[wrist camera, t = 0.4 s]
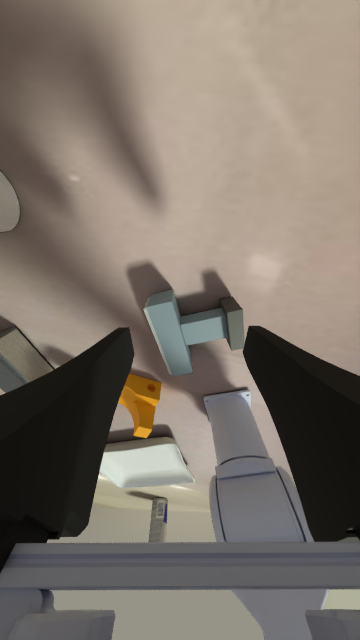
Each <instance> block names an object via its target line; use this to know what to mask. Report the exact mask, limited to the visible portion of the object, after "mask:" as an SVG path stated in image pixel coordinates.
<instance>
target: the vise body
mask: <svg viewBox="0 0 360 640" xmlns="http://www.w3.org/2000/svg"><path fill="white" fill-rule="evenodd" d="M53 370H54V369H53V368H52V367H51V366H50V365H49V363H48V362H47V361H46V360H45V359H44V358H43V357H42V356H41V355H40V353H39V352H38V351H37V350H36V349H35V348H34V347H33V346H32V345H31V343H30V342H29V341H28V340H27V339H26V338H25V337H24V336H23V335H22V333H21V332H20V331H19V330H18V329H17V328H16V327H12V328H8V329H3V330H0V388H1V389H2V390H3V391H4V392H6V393H7V392H10V391H12V390H14V389H16V388H18V387H21V386H23V385H25V384H27V383H29V382H31V381H33V380H35V379H37V378H39V377H41V376H43V375H45V374H47V373H49V372H51V371H53Z"/></svg>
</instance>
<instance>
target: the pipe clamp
mask: <svg viewBox="0 0 360 640" xmlns="http://www.w3.org/2000/svg"><path fill="white" fill-rule="evenodd" d="M160 391H161V383H160V382H156V381H153V380H150V379H146V378H143V377H139V376H136V375H133V374H129V375H128V378H127V380H126V383H125V386H124V388H123V391H122V393H121V396H120V398H119V401H118V403H120V404H122V405H124V406H125V407H126V408H127V409H128V410H129V412H130V413H131V415H132V418H133V421H134V434H133V436H138V437H143V438H147V437H148V435H149V434H150V432H151V431H152V428H153V421H154V413H155V407H156V405H157V403H158V402H159V400H160Z"/></svg>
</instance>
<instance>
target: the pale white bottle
mask: <svg viewBox="0 0 360 640" xmlns="http://www.w3.org/2000/svg"><path fill="white" fill-rule="evenodd" d="M19 216H20V206H19V201H18V199H17V196H16V193H15V191H14V189H13V186H12V185H11V184H10V182H9V181H8V180H7V178H6V177H5V176H4V174H3V173H2V172H1V171H0V232H5V231H10V230H12V229H13V228H14V227H15V226H16V224H17V223H18V220H19Z"/></svg>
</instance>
